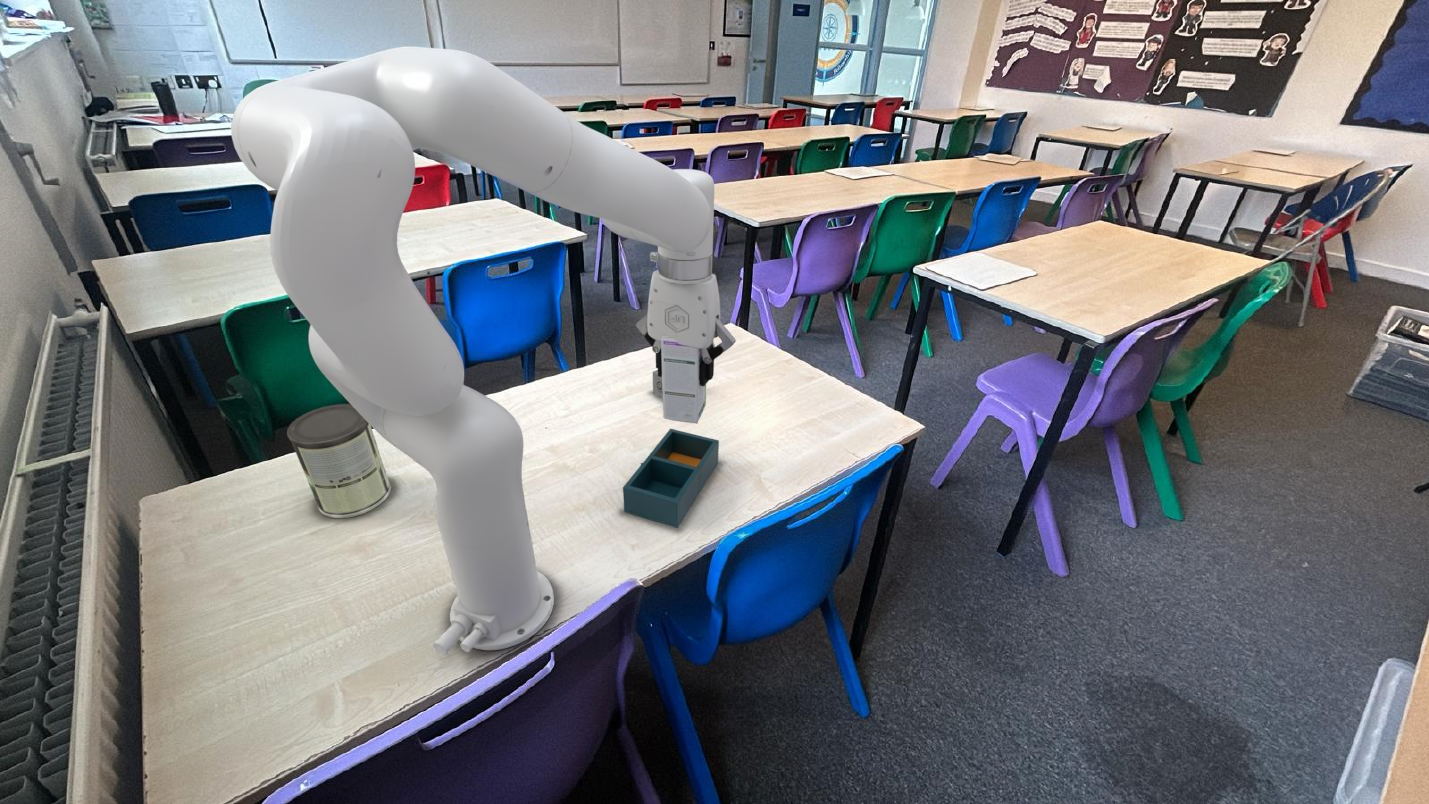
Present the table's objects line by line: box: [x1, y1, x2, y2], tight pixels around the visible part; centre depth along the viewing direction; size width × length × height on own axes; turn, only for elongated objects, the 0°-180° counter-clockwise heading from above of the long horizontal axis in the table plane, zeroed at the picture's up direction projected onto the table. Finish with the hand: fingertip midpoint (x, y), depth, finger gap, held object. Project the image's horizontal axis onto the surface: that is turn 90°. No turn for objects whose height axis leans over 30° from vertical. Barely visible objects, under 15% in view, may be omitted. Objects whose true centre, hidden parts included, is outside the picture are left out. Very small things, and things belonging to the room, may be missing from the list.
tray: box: [622, 428, 720, 529], centre depth 99 cm, size 17×9×5 cm, turn 159°
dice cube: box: [652, 369, 663, 400], centre depth 124 cm, size 5×5×5 cm
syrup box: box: [661, 336, 707, 424], centre depth 93 cm, size 6×6×14 cm
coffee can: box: [286, 403, 392, 519], centre depth 92 cm, size 10×10×14 cm
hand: (684, 376), depth 93 cm, fingers closed on syrup box, 6 cm apart
